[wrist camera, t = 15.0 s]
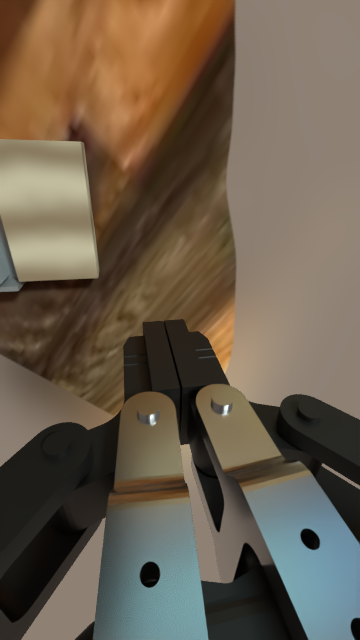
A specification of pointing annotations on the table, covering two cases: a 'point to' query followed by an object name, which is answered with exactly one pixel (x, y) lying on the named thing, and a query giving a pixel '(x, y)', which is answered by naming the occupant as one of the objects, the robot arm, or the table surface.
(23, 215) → the board
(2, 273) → the blue gray block
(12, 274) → the tray
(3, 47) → the table surface
